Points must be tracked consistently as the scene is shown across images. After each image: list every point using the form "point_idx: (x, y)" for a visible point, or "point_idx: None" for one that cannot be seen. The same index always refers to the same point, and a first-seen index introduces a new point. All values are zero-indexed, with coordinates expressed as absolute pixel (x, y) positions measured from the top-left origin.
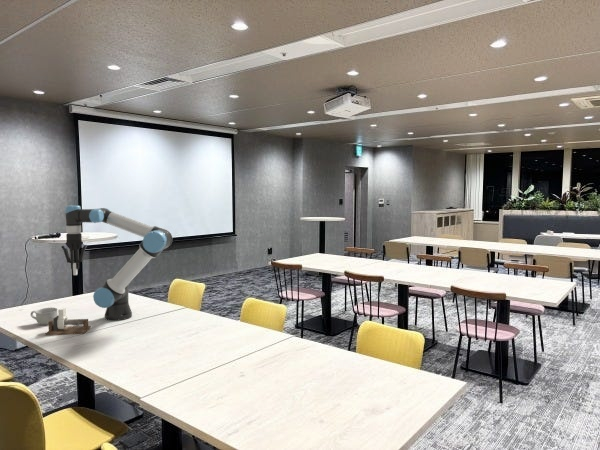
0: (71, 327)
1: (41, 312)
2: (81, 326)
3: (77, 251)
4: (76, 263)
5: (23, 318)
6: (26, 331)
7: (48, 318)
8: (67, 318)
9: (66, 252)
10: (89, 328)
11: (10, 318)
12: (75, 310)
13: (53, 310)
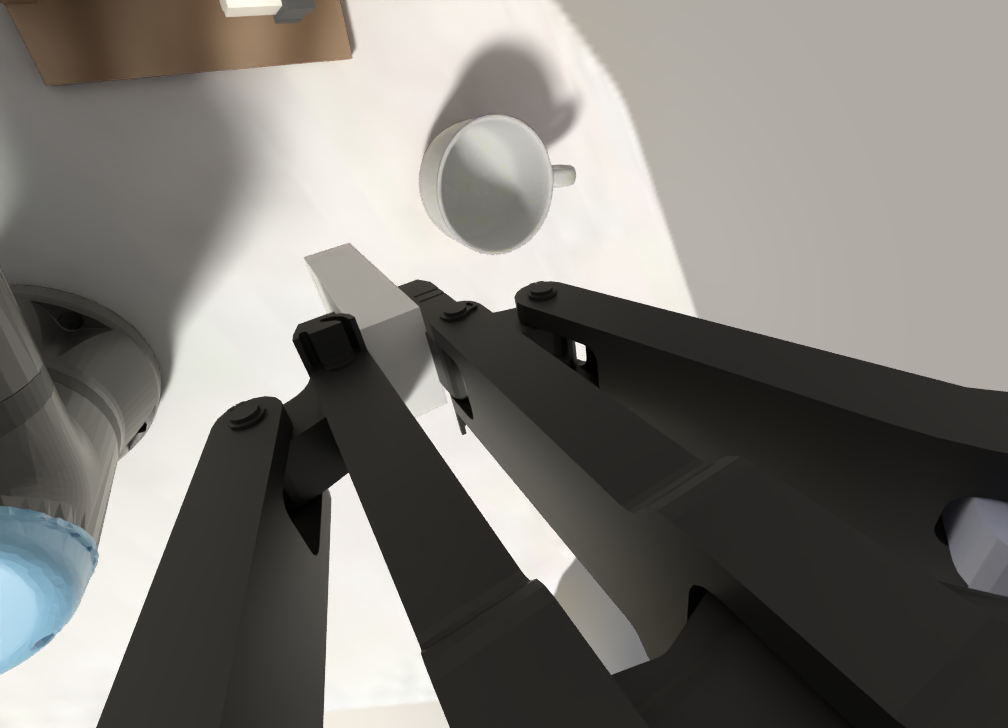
0: (200, 32)
1: (531, 209)
2: (127, 61)
3: (426, 647)
4: (321, 321)
5: (611, 259)
6: (490, 2)
7: (445, 133)
8: (226, 7)
9: (785, 384)
10: (24, 37)
11: (658, 252)
12: (453, 427)
13: (480, 245)
